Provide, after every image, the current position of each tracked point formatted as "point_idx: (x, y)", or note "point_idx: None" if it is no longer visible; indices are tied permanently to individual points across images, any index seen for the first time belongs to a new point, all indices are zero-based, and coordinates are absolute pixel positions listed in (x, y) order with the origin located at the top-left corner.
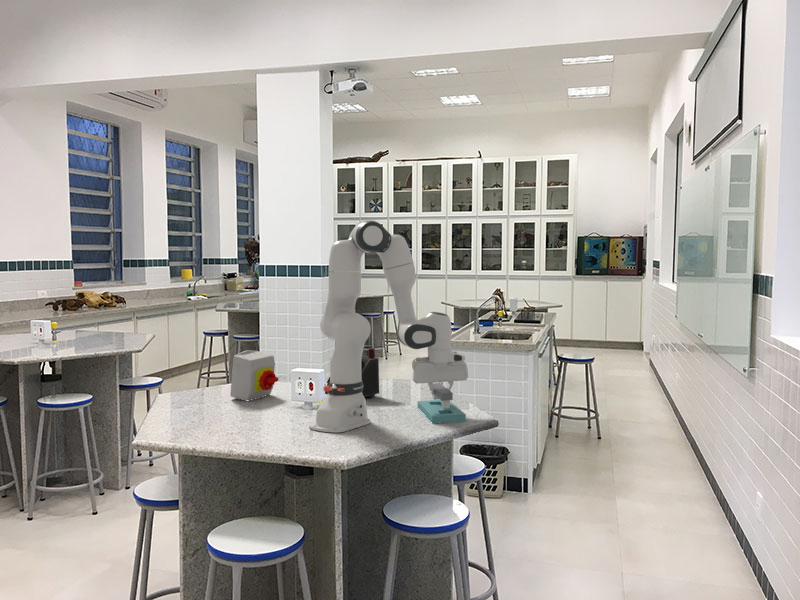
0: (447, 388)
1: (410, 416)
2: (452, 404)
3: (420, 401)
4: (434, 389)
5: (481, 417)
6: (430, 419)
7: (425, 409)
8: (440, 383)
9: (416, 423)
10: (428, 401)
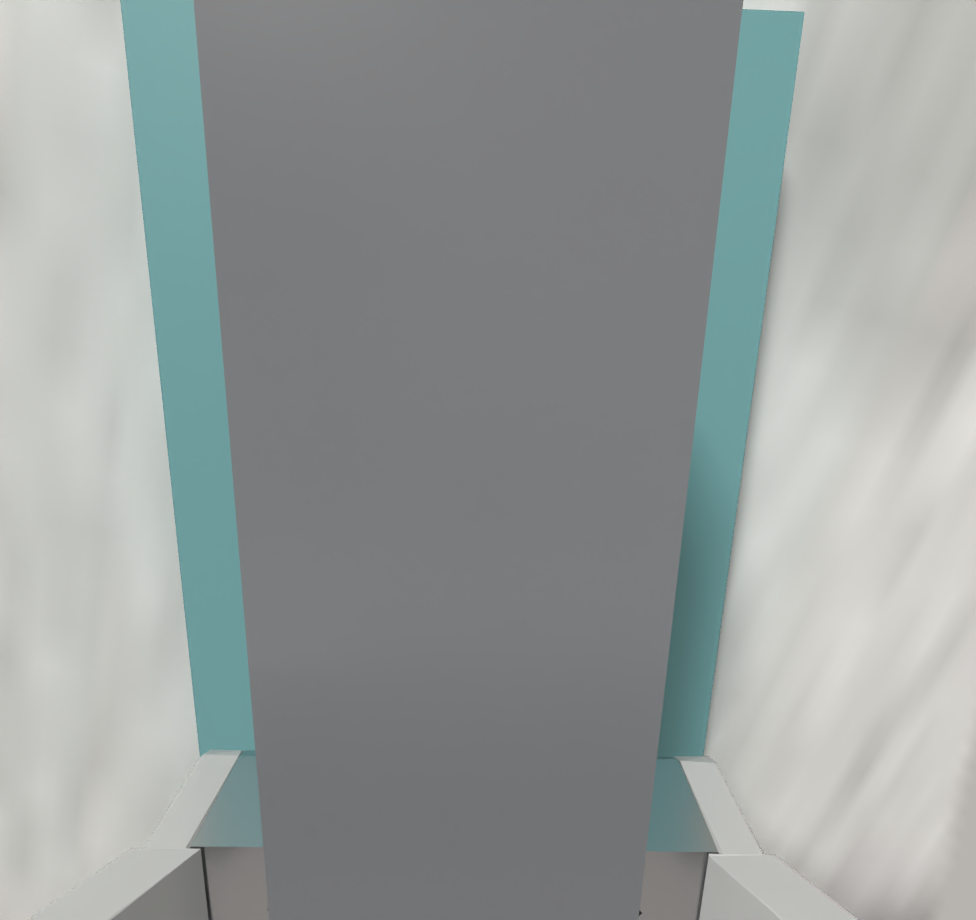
0: (682, 904)
1: (26, 575)
2: (714, 482)
3: (181, 42)
4: (251, 914)
5: (881, 828)
6: None
7: (192, 682)
8: (726, 141)
9: (82, 880)
10: None
